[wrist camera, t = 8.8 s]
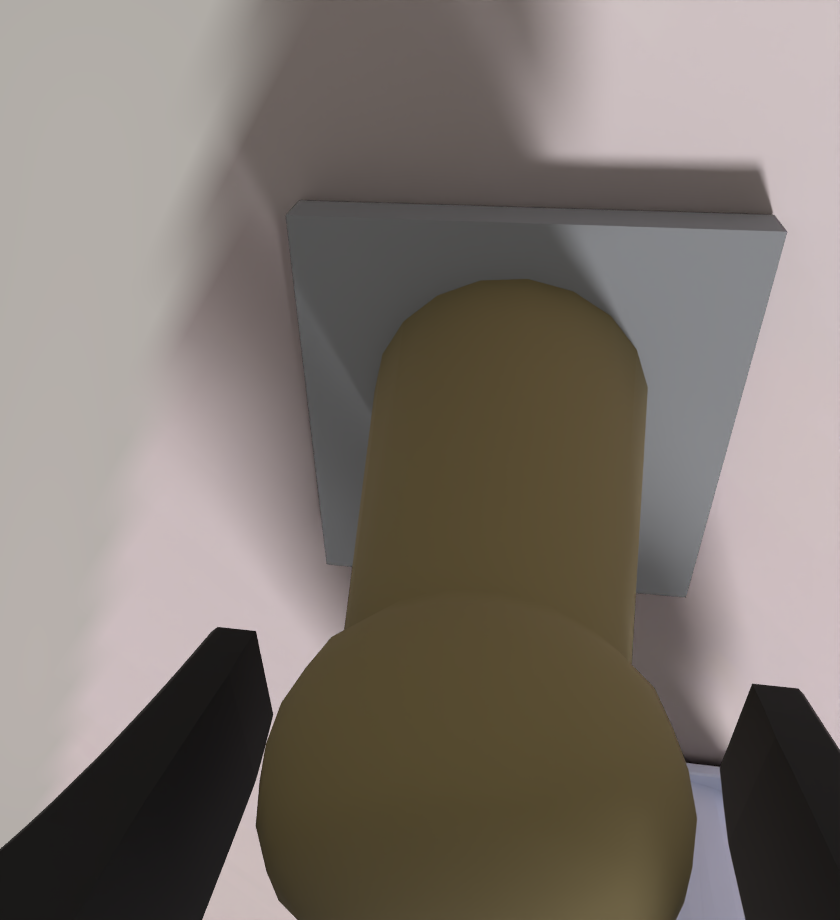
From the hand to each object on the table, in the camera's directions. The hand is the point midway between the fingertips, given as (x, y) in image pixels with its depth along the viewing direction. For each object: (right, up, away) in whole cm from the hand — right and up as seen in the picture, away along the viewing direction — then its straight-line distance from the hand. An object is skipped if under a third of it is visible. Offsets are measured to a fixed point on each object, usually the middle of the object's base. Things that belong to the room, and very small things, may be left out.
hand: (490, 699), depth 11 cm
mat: (+1, +5, +7) cm, 8 cm away
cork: (+1, +5, +6) cm, 8 cm away
